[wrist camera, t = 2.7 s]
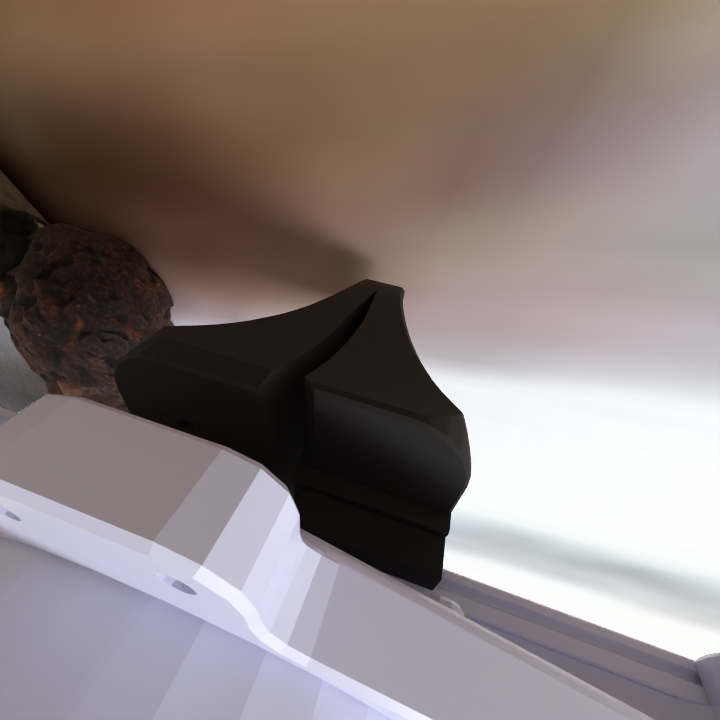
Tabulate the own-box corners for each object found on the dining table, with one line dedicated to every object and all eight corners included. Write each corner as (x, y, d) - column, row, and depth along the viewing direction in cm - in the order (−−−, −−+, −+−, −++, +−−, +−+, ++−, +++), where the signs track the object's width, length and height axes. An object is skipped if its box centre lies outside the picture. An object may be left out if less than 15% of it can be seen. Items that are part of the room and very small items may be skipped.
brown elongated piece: (-129, 84, 14) (-408, 73, 9) (-121, -74, 10) (-561, -206, 6) (183, 391, 21) (104, 466, 16) (251, 360, 17) (174, 445, 13)
